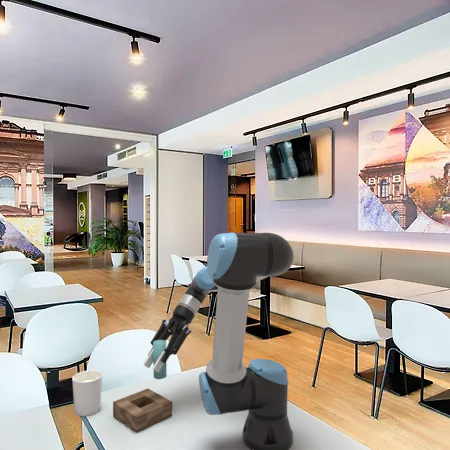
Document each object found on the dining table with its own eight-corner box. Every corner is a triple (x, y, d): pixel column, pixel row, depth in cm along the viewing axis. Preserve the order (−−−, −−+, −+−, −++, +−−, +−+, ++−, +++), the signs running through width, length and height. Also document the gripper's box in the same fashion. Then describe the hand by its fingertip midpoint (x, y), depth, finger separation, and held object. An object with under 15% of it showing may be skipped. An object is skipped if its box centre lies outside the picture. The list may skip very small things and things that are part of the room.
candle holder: (92, 419, 128) (92, 383, 128) (66, 415, 130) (66, 380, 130) (107, 404, 138) (107, 371, 138) (82, 401, 140) (82, 369, 139)
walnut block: (172, 416, 130) (172, 401, 130) (136, 433, 120) (136, 417, 120) (147, 401, 140) (147, 388, 140) (113, 416, 130) (113, 401, 130)
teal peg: (169, 376, 133) (168, 342, 133) (158, 380, 130) (157, 345, 130) (161, 372, 136) (161, 338, 136) (151, 376, 133) (150, 342, 133)
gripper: (208, 319, 138) (173, 381, 127) (176, 311, 150) (141, 366, 138) (197, 308, 134) (160, 370, 122) (165, 300, 145) (128, 356, 134)
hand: (150, 368), depth 130 cm, fingers closed on teal peg, 4 cm apart
